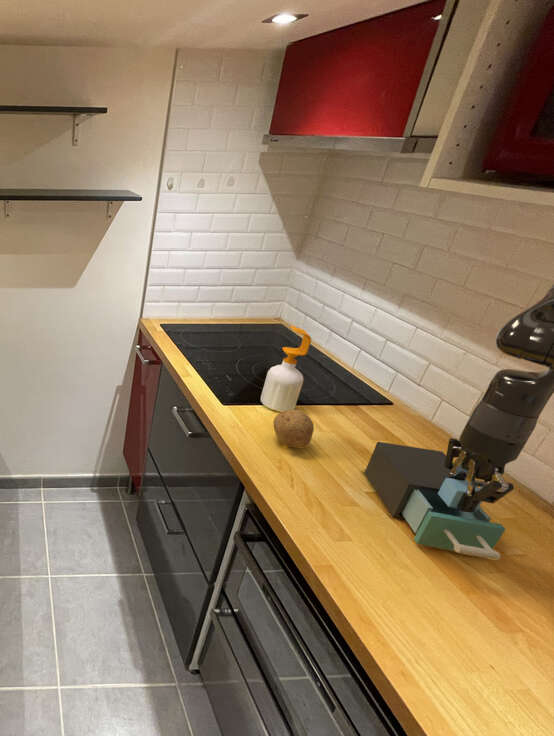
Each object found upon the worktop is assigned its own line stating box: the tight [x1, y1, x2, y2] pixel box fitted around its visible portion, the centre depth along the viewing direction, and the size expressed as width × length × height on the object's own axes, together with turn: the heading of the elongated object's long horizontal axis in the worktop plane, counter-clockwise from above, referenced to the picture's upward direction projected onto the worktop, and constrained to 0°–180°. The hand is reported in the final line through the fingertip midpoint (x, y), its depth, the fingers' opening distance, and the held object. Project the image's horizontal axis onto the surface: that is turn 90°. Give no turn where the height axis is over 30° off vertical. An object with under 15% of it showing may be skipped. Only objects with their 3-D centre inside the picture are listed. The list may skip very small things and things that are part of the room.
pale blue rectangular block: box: [438, 478, 483, 512], centre depth 84 cm, size 4×4×4 cm
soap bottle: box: [260, 325, 312, 413], centre depth 127 cm, size 9×9×25 cm
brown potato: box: [273, 409, 315, 449], centre depth 113 cm, size 9×9×10 cm
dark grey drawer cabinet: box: [363, 441, 466, 521], centre depth 96 cm, size 14×13×9 cm
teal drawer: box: [401, 488, 506, 561], centre depth 87 cm, size 18×11×7 cm, turn 165°
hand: (457, 501), depth 85 cm, fingers closed on pale blue rectangular block, 3 cm apart
